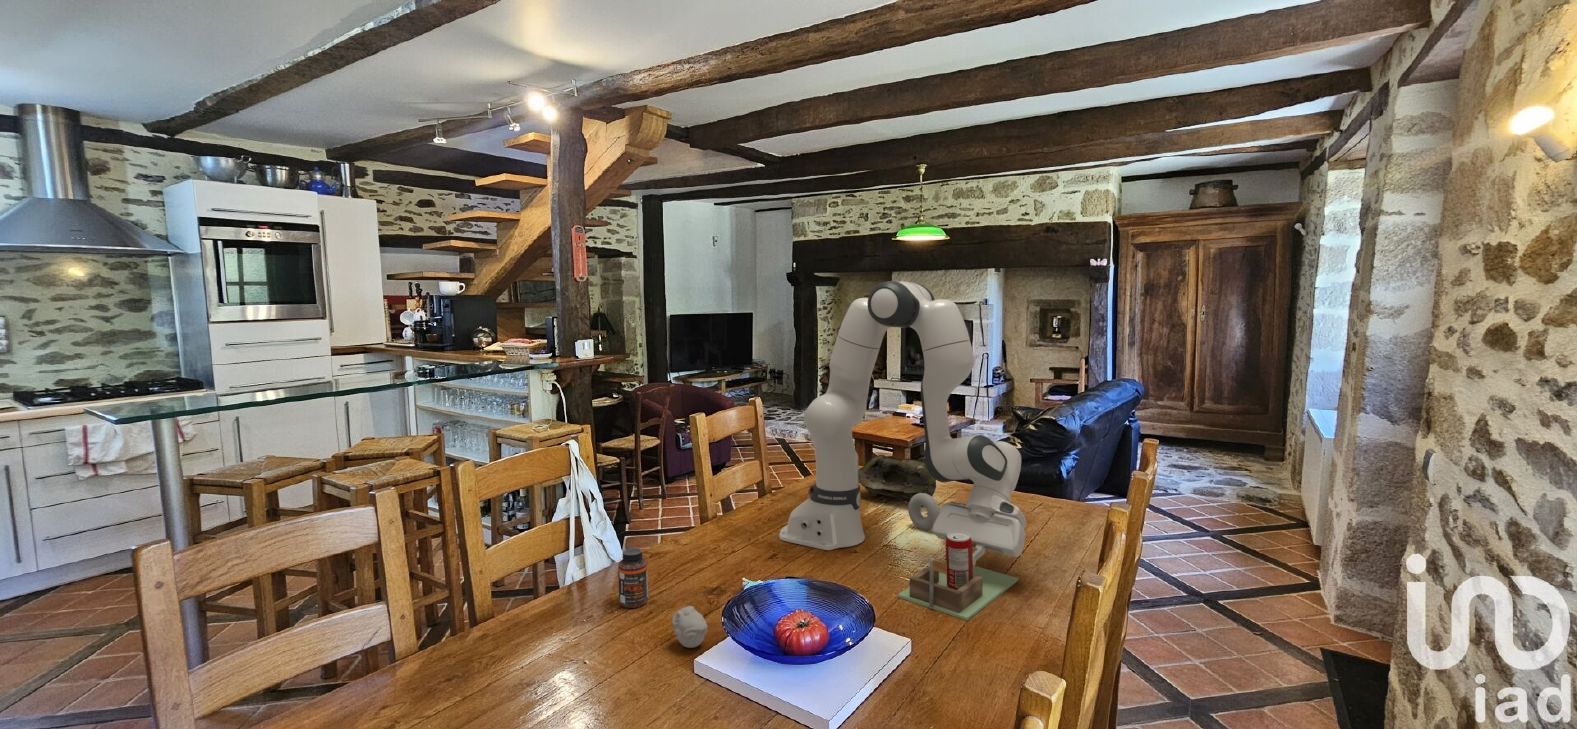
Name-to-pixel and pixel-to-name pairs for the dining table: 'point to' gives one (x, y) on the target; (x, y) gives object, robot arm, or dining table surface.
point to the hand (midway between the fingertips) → (966, 563)
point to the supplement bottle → (632, 579)
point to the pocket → (943, 589)
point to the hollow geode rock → (896, 477)
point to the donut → (915, 511)
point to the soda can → (959, 559)
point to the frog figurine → (689, 627)
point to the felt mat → (991, 590)
